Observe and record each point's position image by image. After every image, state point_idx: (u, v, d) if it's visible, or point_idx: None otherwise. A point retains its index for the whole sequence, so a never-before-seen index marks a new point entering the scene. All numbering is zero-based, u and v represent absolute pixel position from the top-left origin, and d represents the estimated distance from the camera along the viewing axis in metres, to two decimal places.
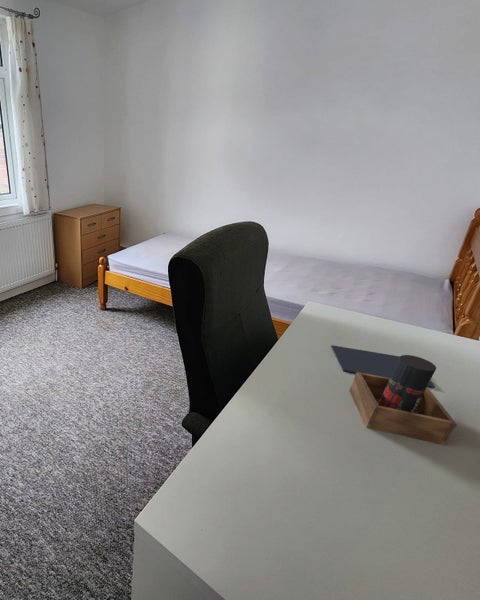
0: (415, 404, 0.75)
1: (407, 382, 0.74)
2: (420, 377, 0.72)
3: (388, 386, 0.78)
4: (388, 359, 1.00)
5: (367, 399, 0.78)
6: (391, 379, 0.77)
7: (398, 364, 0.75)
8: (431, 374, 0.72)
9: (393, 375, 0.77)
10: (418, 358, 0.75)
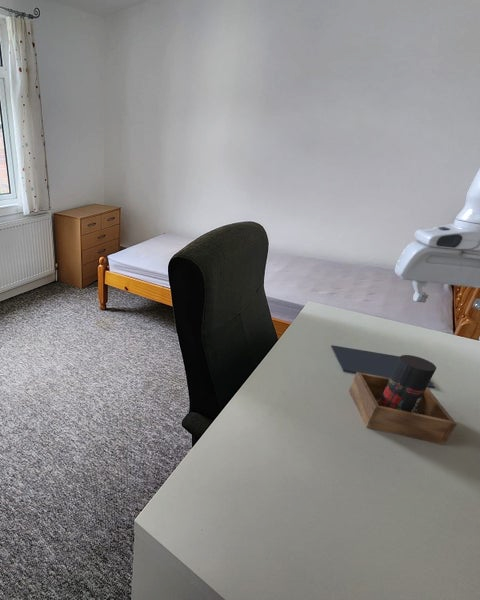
0: (415, 404, 0.75)
1: (407, 382, 0.74)
2: (420, 377, 0.72)
3: (388, 386, 0.78)
4: (388, 359, 1.00)
5: (367, 399, 0.78)
6: (391, 379, 0.77)
7: (398, 364, 0.75)
8: (431, 374, 0.72)
9: (393, 375, 0.77)
10: (418, 358, 0.75)
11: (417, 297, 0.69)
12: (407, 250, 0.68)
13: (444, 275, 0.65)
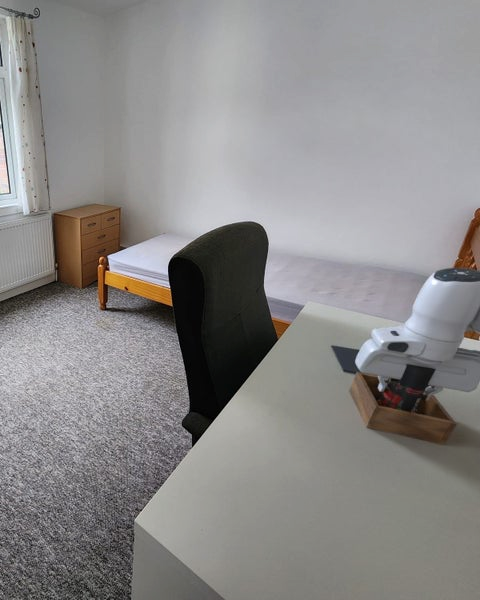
0: (415, 404, 0.75)
1: (407, 381, 0.74)
2: (420, 377, 0.72)
3: None
4: None
5: (367, 399, 0.78)
6: (391, 379, 0.77)
7: None
8: (431, 374, 0.72)
9: None
10: None
11: (381, 388, 0.78)
12: (365, 347, 0.77)
13: (396, 372, 0.74)
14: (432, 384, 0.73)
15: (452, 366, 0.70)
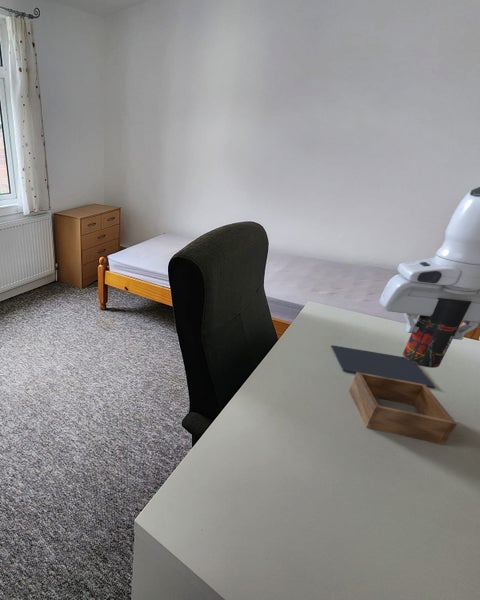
0: (448, 343, 0.68)
1: (439, 317, 0.67)
2: (454, 311, 0.66)
3: None
4: (388, 359, 1.00)
5: (367, 399, 0.78)
6: (419, 318, 0.71)
7: None
8: (466, 307, 0.65)
9: None
10: None
11: (409, 328, 0.71)
12: (391, 283, 0.71)
13: (427, 308, 0.68)
14: (467, 319, 0.66)
15: None
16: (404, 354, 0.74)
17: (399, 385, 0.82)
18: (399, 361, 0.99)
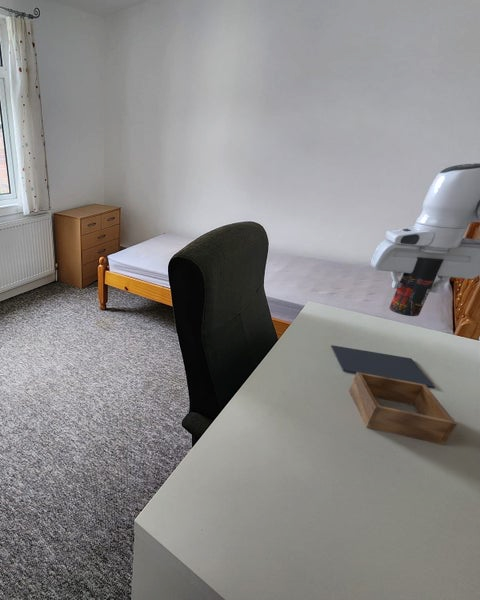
0: (425, 295, 0.84)
1: (418, 273, 0.83)
2: (430, 267, 0.81)
3: None
4: (388, 359, 1.00)
5: (367, 399, 0.78)
6: (403, 276, 0.86)
7: None
8: (439, 264, 0.81)
9: None
10: None
11: (394, 284, 0.87)
12: (380, 247, 0.86)
13: (408, 266, 0.84)
14: (440, 274, 0.82)
15: (458, 255, 0.79)
16: (390, 307, 0.90)
17: (399, 385, 0.82)
18: (399, 361, 0.99)
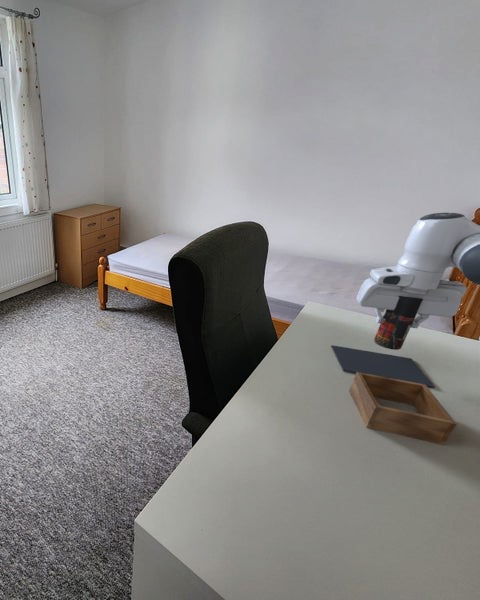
0: (406, 331, 0.90)
1: (399, 311, 0.89)
2: (410, 306, 0.87)
3: None
4: (388, 359, 1.00)
5: (367, 399, 0.78)
6: (386, 311, 0.92)
7: None
8: (419, 303, 0.86)
9: None
10: None
11: (378, 319, 0.93)
12: (364, 284, 0.92)
13: (391, 304, 0.89)
14: (420, 312, 0.88)
15: (436, 295, 0.85)
16: (375, 340, 0.96)
17: (399, 385, 0.82)
18: (399, 361, 0.99)
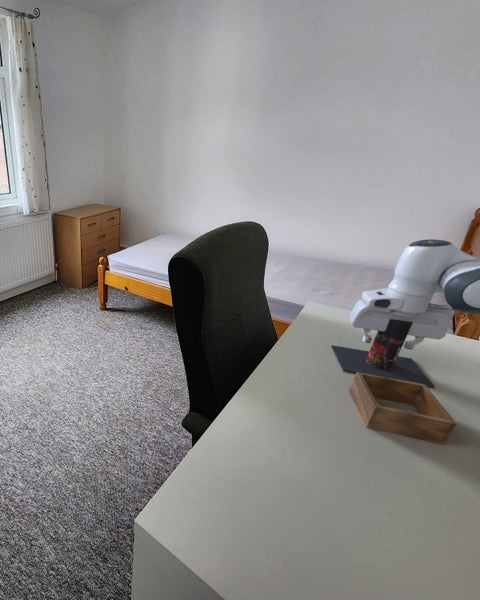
0: (397, 352, 0.93)
1: (390, 333, 0.91)
2: (400, 329, 0.90)
3: (375, 339, 0.95)
4: None
5: (367, 399, 0.78)
6: (377, 333, 0.95)
7: None
8: (409, 326, 0.89)
9: None
10: None
11: (364, 339, 0.96)
12: (356, 306, 0.95)
13: (382, 325, 0.92)
14: (410, 334, 0.90)
15: (425, 318, 0.88)
16: (367, 360, 0.98)
17: (399, 385, 0.82)
18: (399, 361, 0.99)
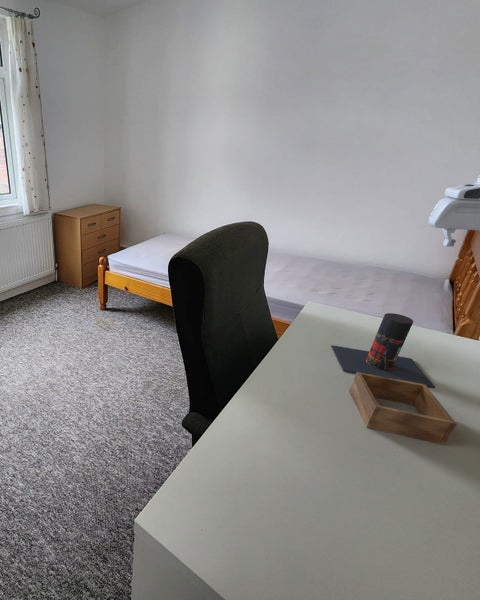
0: (397, 352, 0.93)
1: (390, 333, 0.91)
2: (400, 329, 0.90)
3: (375, 339, 0.95)
4: None
5: (367, 399, 0.78)
6: (377, 333, 0.95)
7: (383, 320, 0.93)
8: (409, 326, 0.89)
9: (379, 329, 0.94)
10: (399, 315, 0.93)
11: (447, 242, 0.87)
12: (439, 204, 0.86)
13: (470, 222, 0.83)
14: None
15: None
16: (367, 360, 0.98)
17: (399, 385, 0.82)
18: (399, 361, 0.99)
